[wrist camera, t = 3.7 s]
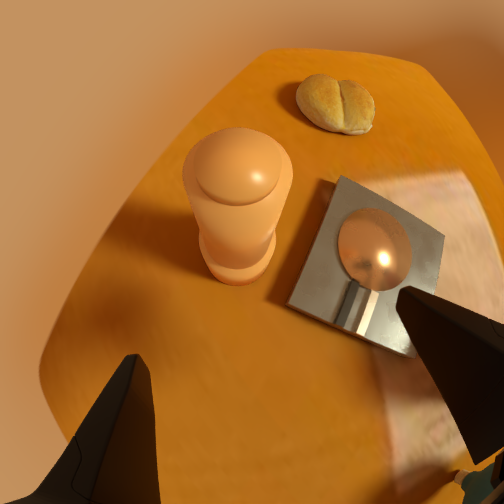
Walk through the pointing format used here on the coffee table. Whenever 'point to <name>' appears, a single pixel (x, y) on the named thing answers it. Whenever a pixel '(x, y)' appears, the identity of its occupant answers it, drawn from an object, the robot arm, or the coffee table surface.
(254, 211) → the tapered peach knob
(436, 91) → the coffee table surface
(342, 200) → the plate
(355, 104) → the bread roll
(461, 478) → the light bulb
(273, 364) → the coffee table surface
